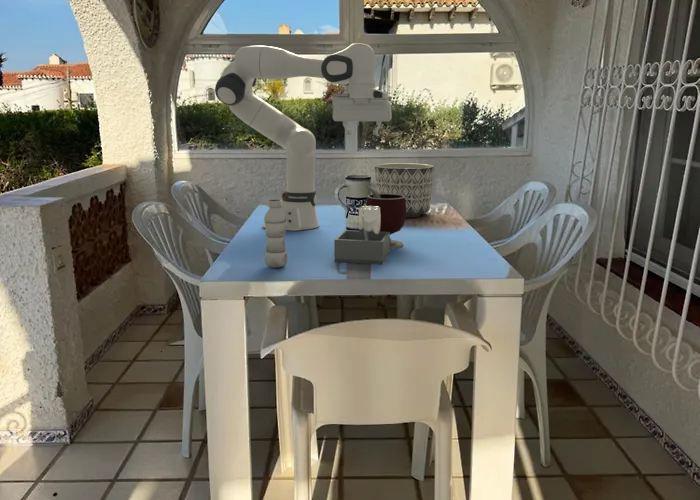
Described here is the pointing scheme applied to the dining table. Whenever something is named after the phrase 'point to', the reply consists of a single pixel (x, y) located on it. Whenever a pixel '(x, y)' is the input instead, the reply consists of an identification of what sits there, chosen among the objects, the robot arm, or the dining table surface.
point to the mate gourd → (389, 213)
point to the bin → (361, 248)
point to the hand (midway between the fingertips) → (361, 135)
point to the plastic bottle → (275, 235)
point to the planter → (407, 184)
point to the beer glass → (369, 222)
